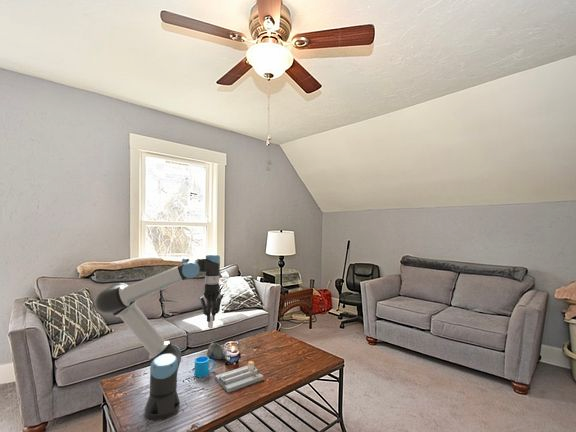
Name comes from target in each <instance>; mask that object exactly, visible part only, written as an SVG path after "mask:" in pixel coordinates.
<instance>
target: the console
mask: <svg viewBox="0 0 576 432" xmlns="http://www.w3.org/2000/svg"><path fill="white" fill-rule="evenodd" d="M214 380H215V381H216V382H217V383H218V384H219V385H220V386H221V387H222V388H223V389H224V390H225V392H226V393H231V392H233V391H237V390H238V389H242V388H245V387H247V386H249V385H253V384H255V383H259V382H261V381H263V380H264V375H263V374H261V373H260V370H259V369H258V368H257V367H256V366H254V370H253V371H250V372H248V364H247V365H244V366H241V367H239V368H236V369H234V368H233V369H232V370H228V371H225V372H221V373H219V374H216V375H215V378H214Z"/></svg>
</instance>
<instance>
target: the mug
mask: <svg viewBox="0 0 576 432" xmlns="http://www.w3.org/2000/svg"><path fill="white" fill-rule="evenodd" d="M210 362H212V363H213V365H212V366H211V368H210ZM215 367H216V361H215V360H214V359H213V358H210V357H207V355H206V356H205V355H204V356H203V355H202V356H198V357H196V358H195V359H194V372H193V373H194V375H193V376H194V377H196V378H204V377H207V376H208V375H209V372H211V371H212V370H214V368H215Z"/></svg>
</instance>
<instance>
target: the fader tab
mask: <svg viewBox="0 0 576 432" xmlns="http://www.w3.org/2000/svg"><path fill="white" fill-rule="evenodd" d="M247 365H248V372H250V371H253V370H254V367H255V362H254V361H253V360H249V361H247Z"/></svg>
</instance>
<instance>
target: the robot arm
mask: <svg viewBox="0 0 576 432" xmlns="http://www.w3.org/2000/svg"><path fill="white" fill-rule="evenodd" d="M220 256H221V255H220V254H218V253H207V254H206V255H205V257H184V258H182V259H181V264H180V265H177V266H174V267H172V268H169V269H166V270H165V271H162V272H160V273H157V274H154V275H153V276H150V277H147V278H144V279H141V280H139V281H137V282H134V283H132V284H127V283H123V282H118V283H113V284H112V285H109V286H108V287H107V288H105V289H103V290H101V291H100V292H99V293H98V295H97V296H96V299H95V302H94V303H95V308H96V309H97V310H98V312H100V313H102V314H105V315H107V314H108V315H109V314H112V315H113V316H114V317H117V318H120V319H121V320H122V321H123V323H124V324H125V325H126V327H127V328H128V329H129V330H130V331H131V332H132V334H133V335H134V336H135V337H136V338H137V341H139V342H140V343H141V344H142V346H143V347H144V348H145V350H146V351H147V352H148V353H149V357H148V359H149V360H150V361H151V363H150V370H149V373H150V377H149V378H150V379H149V396H148V398H147V401H146V404H145V407H144V416H145V418H147V419H148V420H151V421H161V420H162V421H163V420H165V419H168V418H171V417H172V416H174V415H175V414H176V413H178V411H179V410H180V408H181V407H180V405H181V404H180V403H181V402H180V397H179V393H178V391H177V388H178V387H177V385H178V384H177V382H178V381H177V380H178V371H179V367H180V365H181V361H182V352H181V349H180V348H179V347H178V345H176V344H172V342H171V341H170V340H165V338H164V337H163V336H162V335H161V334H160V332H158V331H157V329H156V328H155V326H154V325H153V324H152V322H150V321H149V319H148V318H147V317H146V315H145V314H144V313H143V311H142V310H141V309H140V308H139V307H138V305H137V302H138V301H137V300H140V299H142V298H145V297H147V296H149V295H152V294H154V293H156V292H159V291H162V290H163V289H166V288H168V287H171V286H174V285H176V284H178V283H181V282H184V281H185V280H187V279H193V278H195V277H197V276H198V275H199V273H205V274H204V292H203V295H202V296H199V298H198V299H199V300H200V302H201V307H202V314H204V316H206V322H207V327H208V328H209V329H213V326H214V322H215V317H216V314H219V311H220V307H221V303H222V300H223V298H224V295H223V294H221V293H220V273H221V272H220V271H221V257H220ZM205 300H206V301H205Z"/></svg>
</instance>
